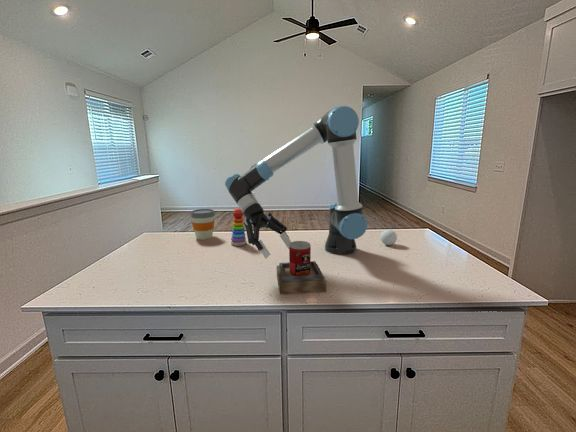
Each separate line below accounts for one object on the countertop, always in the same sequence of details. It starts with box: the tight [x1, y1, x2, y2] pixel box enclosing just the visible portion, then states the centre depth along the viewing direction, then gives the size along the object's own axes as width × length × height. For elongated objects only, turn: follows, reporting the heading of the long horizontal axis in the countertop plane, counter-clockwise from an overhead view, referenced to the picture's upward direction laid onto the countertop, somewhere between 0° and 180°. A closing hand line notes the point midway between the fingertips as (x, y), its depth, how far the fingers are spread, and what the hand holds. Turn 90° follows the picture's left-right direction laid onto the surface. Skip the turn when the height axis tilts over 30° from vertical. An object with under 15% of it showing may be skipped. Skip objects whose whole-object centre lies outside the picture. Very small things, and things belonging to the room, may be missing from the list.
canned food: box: [288, 240, 312, 276], centre depth 110 cm, size 8×8×11 cm
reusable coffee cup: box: [190, 208, 215, 240], centre depth 169 cm, size 13×13×15 cm
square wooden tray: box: [276, 260, 327, 295], centre depth 111 cm, size 16×16×6 cm
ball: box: [380, 229, 398, 246], centre depth 154 cm, size 8×8×8 cm
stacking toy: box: [230, 208, 247, 247], centre depth 156 cm, size 8×8×19 cm
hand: (280, 251), depth 115 cm, fingers open, 13 cm apart
